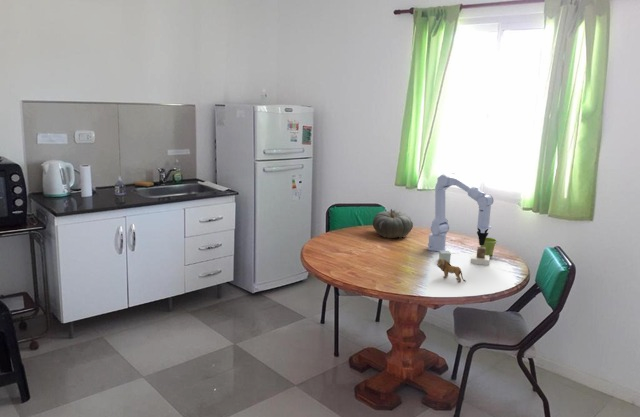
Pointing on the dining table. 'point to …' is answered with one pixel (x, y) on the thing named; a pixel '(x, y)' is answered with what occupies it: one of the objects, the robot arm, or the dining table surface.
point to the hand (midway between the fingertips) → (481, 243)
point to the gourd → (392, 224)
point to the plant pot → (489, 245)
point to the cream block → (480, 259)
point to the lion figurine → (449, 269)
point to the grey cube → (445, 255)
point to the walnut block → (481, 252)
